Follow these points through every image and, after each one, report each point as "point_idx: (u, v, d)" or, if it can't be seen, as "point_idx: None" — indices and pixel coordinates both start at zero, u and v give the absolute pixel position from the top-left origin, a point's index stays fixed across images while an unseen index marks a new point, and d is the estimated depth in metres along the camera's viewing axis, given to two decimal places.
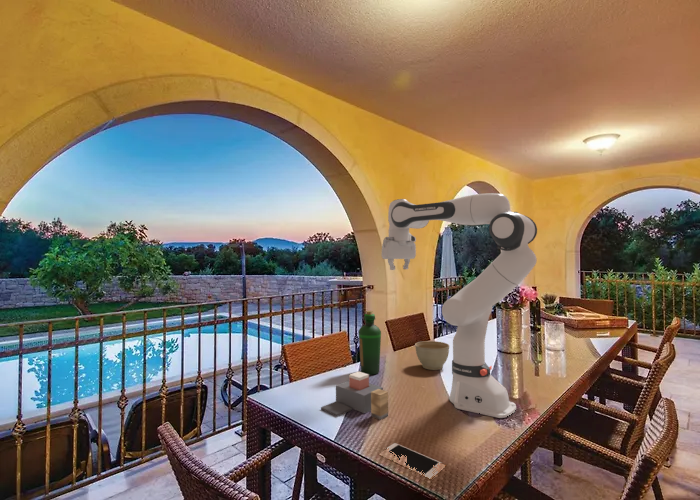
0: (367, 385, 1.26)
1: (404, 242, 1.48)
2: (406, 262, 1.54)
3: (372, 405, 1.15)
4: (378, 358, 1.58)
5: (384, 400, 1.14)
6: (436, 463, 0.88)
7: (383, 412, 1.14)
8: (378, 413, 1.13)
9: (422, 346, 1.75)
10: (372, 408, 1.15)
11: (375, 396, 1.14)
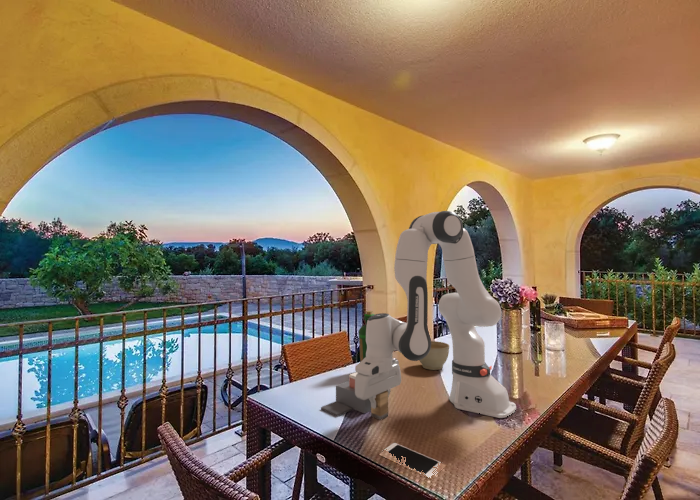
0: None
1: None
2: None
3: None
4: None
5: (384, 400, 1.14)
6: (436, 463, 0.88)
7: (383, 412, 1.14)
8: (378, 413, 1.13)
9: None
10: (372, 408, 1.15)
11: None
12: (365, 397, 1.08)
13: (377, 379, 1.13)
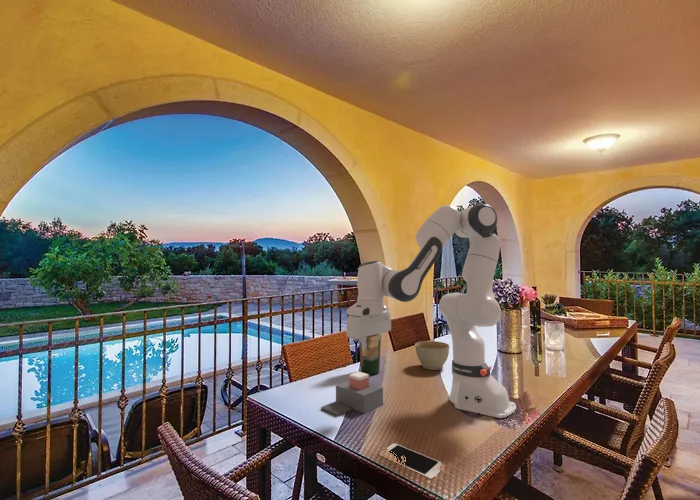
0: (367, 385, 1.26)
1: None
2: None
3: None
4: (378, 358, 1.58)
5: (374, 342, 1.19)
6: (436, 463, 0.88)
7: (374, 354, 1.18)
8: (369, 355, 1.18)
9: (422, 346, 1.75)
10: (363, 351, 1.20)
11: None
12: (356, 336, 1.12)
13: (368, 322, 1.17)
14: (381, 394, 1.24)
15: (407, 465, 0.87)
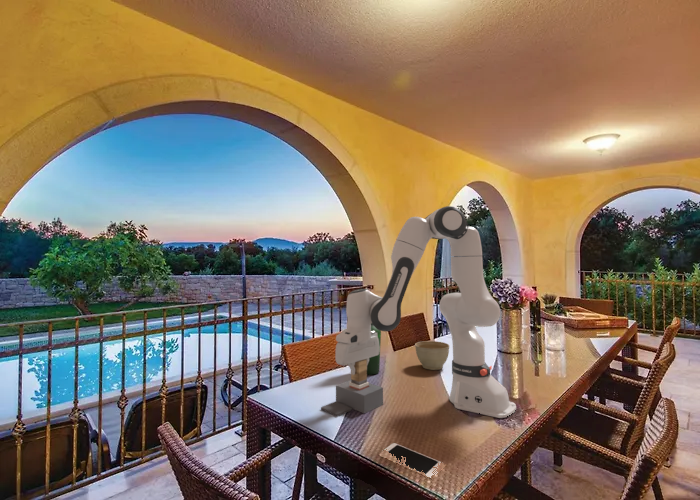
0: None
1: None
2: None
3: None
4: (378, 358, 1.58)
5: (362, 367, 1.25)
6: (436, 463, 0.88)
7: (362, 378, 1.25)
8: (357, 379, 1.24)
9: (422, 346, 1.75)
10: (352, 375, 1.26)
11: None
12: (344, 363, 1.19)
13: (356, 348, 1.24)
14: (381, 394, 1.24)
15: (407, 465, 0.87)
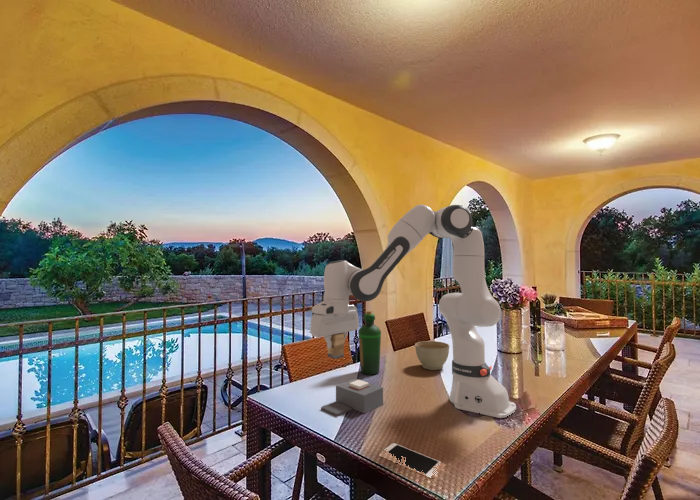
0: None
1: None
2: None
3: None
4: (378, 358, 1.58)
5: (339, 341, 1.20)
6: (436, 462, 0.88)
7: (339, 352, 1.20)
8: (333, 353, 1.19)
9: (422, 346, 1.75)
10: (328, 349, 1.21)
11: (331, 336, 1.20)
12: (319, 334, 1.14)
13: (333, 320, 1.19)
14: (381, 394, 1.24)
15: (407, 465, 0.87)
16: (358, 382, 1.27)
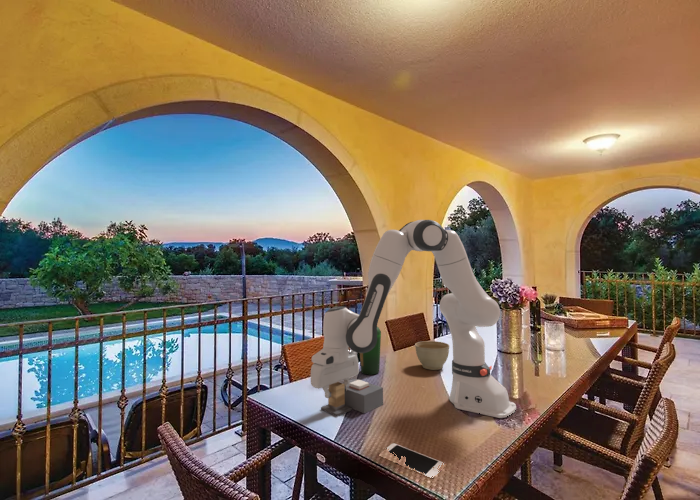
0: None
1: None
2: None
3: None
4: (378, 358, 1.58)
5: (340, 392, 1.19)
6: (436, 462, 0.89)
7: (339, 404, 1.19)
8: (334, 404, 1.19)
9: (422, 346, 1.75)
10: (329, 400, 1.20)
11: (331, 388, 1.20)
12: (319, 386, 1.13)
13: (333, 369, 1.18)
14: (381, 394, 1.24)
15: (407, 465, 0.87)
16: (358, 382, 1.27)
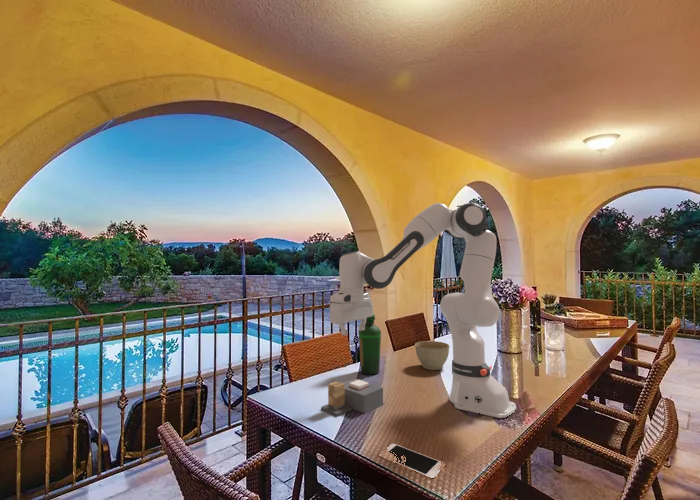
0: None
1: None
2: None
3: (329, 397, 1.20)
4: (378, 358, 1.58)
5: (340, 392, 1.19)
6: (436, 462, 0.89)
7: (339, 404, 1.19)
8: (334, 404, 1.19)
9: (422, 346, 1.75)
10: (329, 400, 1.20)
11: (331, 388, 1.20)
12: (339, 321, 1.21)
13: (350, 308, 1.26)
14: (381, 394, 1.24)
15: (407, 465, 0.87)
16: (358, 382, 1.27)
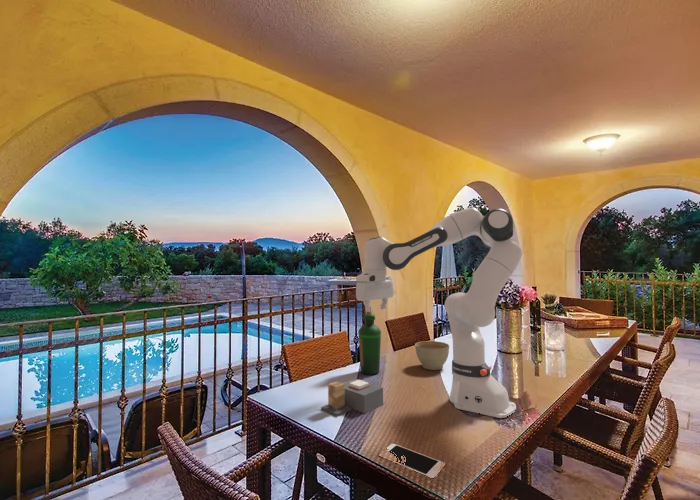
0: None
1: None
2: None
3: (329, 397, 1.20)
4: (378, 358, 1.58)
5: (340, 392, 1.19)
6: (436, 462, 0.89)
7: (339, 404, 1.19)
8: (334, 404, 1.19)
9: (422, 346, 1.75)
10: (329, 400, 1.20)
11: (331, 388, 1.20)
12: (364, 298, 1.36)
13: (374, 287, 1.41)
14: (381, 394, 1.24)
15: (407, 465, 0.87)
16: (358, 382, 1.27)
